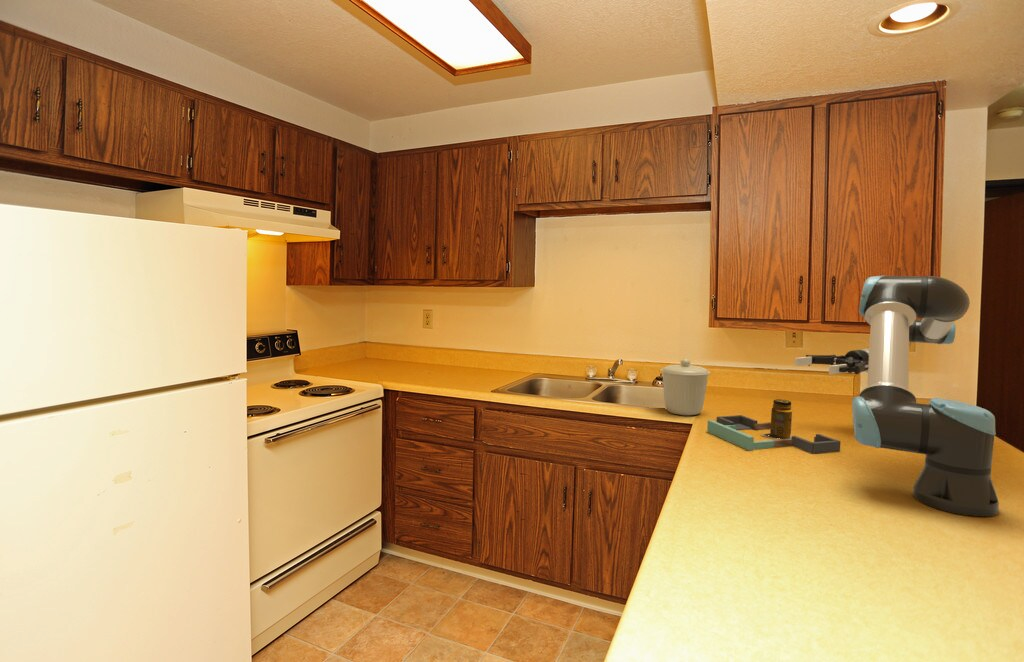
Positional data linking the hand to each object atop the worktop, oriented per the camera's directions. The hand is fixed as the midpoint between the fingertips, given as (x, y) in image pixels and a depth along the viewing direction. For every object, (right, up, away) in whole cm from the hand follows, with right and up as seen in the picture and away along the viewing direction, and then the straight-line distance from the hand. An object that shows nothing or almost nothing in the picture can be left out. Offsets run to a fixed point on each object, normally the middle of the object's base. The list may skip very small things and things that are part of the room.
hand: (812, 366), depth 176 cm
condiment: (-11, -23, 0) cm, 26 cm away
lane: (-11, -23, 0) cm, 26 cm away
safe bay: (-26, -23, -4) cm, 35 cm away
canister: (-32, -20, +31) cm, 49 cm away
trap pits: (-13, -23, -1) cm, 27 cm away
